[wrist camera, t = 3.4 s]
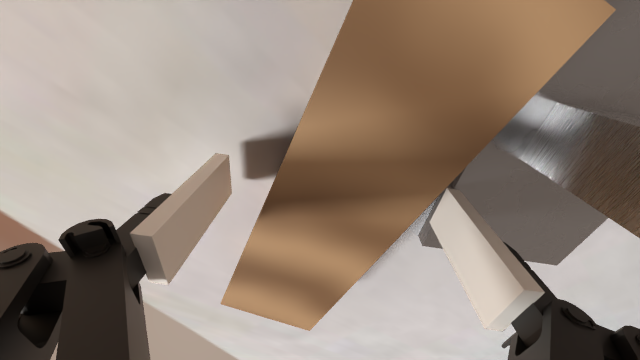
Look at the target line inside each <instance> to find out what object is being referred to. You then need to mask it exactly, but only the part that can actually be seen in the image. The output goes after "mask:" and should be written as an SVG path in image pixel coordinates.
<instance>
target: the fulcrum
mask: <svg viewBox="0 0 640 360" xmlns="http://www.w3.org/2000/svg"><path fill="white" fill-rule="evenodd" d="M605 1H606V2H607V3H608V4H610V5H611V6H612V7H613V8H615V9H616V10H615V11H614V12H613V13H612V15H611V16H610V17H609V18H608V19H607V20H606V21H605V22H604V23H603V24H602V25H601V26H600V27H599V28H598V29H597V30H596V31H595V32H594V33H593V34H592V35H591V37H590V38H589V39H588V40H587V41H586V42H585V43H584V44H583V45H582V46H581V47H580V48H579V49H578V50H577V51H576V52H575V53H574V54H573V55H572V56H571V57H570V59H569V60H568V61H567V62H566V63H565V64H564V65H563V66H562V67H561V68H560V69H559V70H558V71H557V72H556V73H555V74H554V75H553V76H552V77H551V78H550V79H549V80H548V82H547V83H546V84H545V85H544V86H543V87H542V88H541V89H540V90H539V91H538V92H537V93H536V94H535V95H534V96H533V97H532V98H531V99H530V100H529V101H528V102H527V104H526V105H525V106H524V107H523V108H522V109H521V110H520V111H519V112H518V113H517V114H516V115H515V116H514V117H513V118H512V119H511V120H510V121H509V122H508V123H507V124H506V126H505V127H504V128H503V129H502V130H501V131H500V132H499V133H498V134H497V135H496V136H495V137H494V138H493V139H492V140H491V141H490V142H489V143H488V144H487V145H486V146H485V148H484V149H483V150H482V151H481V152H480V153H479V154H478V155H477V156H476V157H475V158H474V159H473V160H472V161H471V162H470V163H469V164H468V165H467V166H466V167H465V168H464V170H463V171H462V172H461V173H460V174H459V175H458V176H457V177H456V178H455V179H454V180H453V181H452V182H451V183H450V184H449V185H448V186H447V187H446V188H445V189H444V190H443V191H442V193H441V194H440V195H439V197H438V199H437V200H436V202H435V204H434V206H433V208H432V210H431V212H430V214H429V216H428V218H427V220H426V222H425V224H424V226H423V227H422V229H421V231H420V233H419V235H418V236H419V238H420V241H421V243H422V246H428V247H435V248H441V249H443V248H442V246H441V244H440V242H439V240H438V238H437V236H436V234H435V232H434V230H433V228H432V226H431V224H430V223H429V222H430V220H431V218H432V216H433V214H434V212H435V210H436V208H437V206H438V205H439V203H440V201H441V199H442V197H443V195H444V193H445V191H446V189H447V188H450V189H456V190H460V191H461V193H462V194H463V195H464V196H465V197H466V199H467V200H468V201H469V202H470V203H471V205H472V206H473V207H474V208H475V209H476V211H477V212H478V213H479V214H480V215H481V217H482V218H483V219H484V220H485V221H486V223H487V224H488V225H489V226H490V227H491V229H492V230H493V231H494V232H495V233H496V234H497V236H498V237H499V238H500V239H501V240H502V242H505V243H507V244H508V245H509V246H510V247H512V248H513V249H514V250H515V251H517V253H518V254H519V255H520V256H521V257H522V258H523V260H524V261H530V262H537V263H544V264H551V265H558V264H559V263H560V262H561V261H562V260H563V259H564V258H565V257H567V256H568V255H569V254H570V253H571V252H572V251H573V250H574V249H575V248H576V247H577V246H578V245H579V244H581V243H582V242H583V241H584V240H585V239H586V238H587V237H588V236H589V235H590V234H591V233H592V232H593V231H595V230H596V229H597V228H598V227H599V226H600V225H601V224H602V223H603V222H604V221H605V220H606V219H607V218H610V219H612V220H613V221H615V222H616V223H618V224H619V225H621V226H622V227H624V228H625V229H627V230H628V231H630V232H631V233H633V234H634V235H636V236H637V237H639V238H640V0H605Z"/></svg>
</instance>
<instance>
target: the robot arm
mask: <svg viewBox="0 0 640 360" xmlns="http://www.w3.org/2000/svg"><path fill="white" fill-rule="evenodd" d="M231 194H232V189H231V176H230V163H229V155H224V154H218V153H216V154H215V155H214V156H212V157H211V158H210V159H209V160H208V161H207V162H206V163H205V164H204V165H203V166H202V167H201V168H200V169H198V170H197V171H196V172H195V173H194V174H193V175H192V176H191V177H190V178H189V179H188V180H187V181H186V182H184V183H183V184H182V185H181V186H180V187H179V188H178V189H177V190H176V191H175V192H174V193H173V194H167V193H164V194H162V195H160V196H158V197H156V198H154V199H152V200H151V201H150V202H149V203H148V204H146V205H145V207H143V208H142V209H141V210H139V211H138V213H137V214H135V215H134V216H132V217H131V218H130V219H129V220H128V221H127V222H125V223H124V224H123V225H122V226H121V227H120V228H118V229H117V230H116V229H115V227H114V225H113V223H112V222H111V221H109V220H107V219H94V220H88V221H85V222H82V223H79V224H76V225H75V226H73V227H71V228H69V229H67V230H66V231H65V232H64V233H63V234H62V235H61V236H60V238H59V241H60V243H61V245H62V246H63V248H64V249H65V251H62V252H52V253H48V252H47V250H46V249H45V247H44V246H43V245H41V244H38V243H27V244H22V245H18V246H14V247H11V248H9V249H6V250H4V251H2V252H0V360H50V359H51V356H52V354H53V352H54V350H55V347H56V345H57V343H58V348H57V356H56V360H150V354H149V346H148V338H147V331H146V324H145V315H144V307H143V300H142V292H141V286H140V284H139V281H140V280H141V279H142V278H143V276H144V275H145V274H146V275H147V278H148V280H149V282H150V283H157V284H164V285H169V283H170V282H171V281H172V279H173V278H174V276H175V275H176V273H177V272H178V270H179V269H180V268H181V266H182V265H183V263H184V262H185V260H186V259H187V257H188V256H189V254H190V253H191V252H192V250H193V249H194V247H195V246H196V244H197V243H198V241H199V240H200V238H201V237H202V236H203V234H204V233H205V231H206V230H207V228H208V227H209V225H210V224H211V223H212V221H213V220H214V218H215V217H216V215H217V214H218V212H219V211H220V209H221V208H222V207H223V205H224V204H225V202H226V201H227V199H228V198H229V196H230V195H231ZM429 223H430V224H431V226H432V228H433V230H434V232H435V234H436V236H437V238H438V240H439V242H440V244H441V246H442V248H443V249H444V251H445V253H446V255H447V257H448V259H449V261H450V263H451V265H452V267H453V269H454V271H455V273H456V274H457V276H458V278H459V280H460V282H461V284H462V286H463V288H464V290H465V292H466V294H467V296H468V298H469V299H470V301H471V303H472V305H473V307H474V309H475V311H476V313H477V315H478V317H479V319H480V321H481V323H482V325H483V326H484V328H485V329H488V330H495V331H504V330H505V329H506V328H507V327H508V326H509V325H510V324H512V325H513V327H514V329H515V330H516V333H514V334H513V335H512V336H511V337H510V338H509V339H508V340H506V341H505V342H504V343H503V345H502V347H503V348H506V347H507V346H508V345H510V349H509V355H508V360H640V329H638V328H636V327H633V326H624V327H622V328H620V329H619V330H617V331H616V332H615V331H612V330H609V329H607V328H604V327H602V326H599V325H597V324H596V323H595V322H594V321H593V320H592V319H591V317H589V316H588V315H587V314H586V313H585V312H584V311H582V310H581V309H579V308H578V307H576V306H575V305H573V304H571V303H569V302H567V301H564V300H560V299H557V298H556V297H555V295H554V294H553V293H552V292H551V291H550V290H549V289H548V287H547V286H546V285H545V284H544V283H543V282H542V280H541V279H540V278H539V277H538V276H537V275H536V273H535V272H534V271H533V270H531V268H530V266H529V265H528V264H527V263H526V262H524V260H523V258H522V257H521V256H520V255H519V254H518V253H517V251H515V250H514V249H513V248H512V247H510V246H509V245H508V244H507V243H505V242H502V240H501V239H500V238H499V237H498V236H497V234H496V233H495V232H494V231H493V230H492V229H491V227H490V226H489V225H488V224H487V223H486V221H485V220H484V219H483V218H482V217H481V215H480V214H479V213H478V212H477V211H476V209H475V208H474V207H473V206H472V205H471V203H470V202H469V201H468V200H467V199H466V197H465V196H464V195H463V194H462V193H461V191H460V190H456V189H450V188H447V189H446V191H445V193H444V195H443V197H442V199H441V201H440V203H439V205H438V206H437V208H436V210H435V212H434V214H433V216H432V218H431V220H430V222H429Z"/></svg>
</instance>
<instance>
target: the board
mask: <svg viewBox="0 0 640 360" xmlns="http://www.w3.org/2000/svg"><path fill="white" fill-rule="evenodd" d="M615 10H616V9H615V8H613V7H612V6H611V5H610V4H608V3H607V2H606V1H605V0H353V2H352V4H351V7H350V9H349V11H348V13H347V16H346V18H345V20H344V23H343V25H342V27H341V29H340V32H339V34H338V36H337V38H336V41H335V43H334V45H333V48H332V50H331V52H330V54H329V57H328V59H327V61H326V64H325V66H324V68H323V70H322V73H321V75H320V77H319V80H318V82H317V84H316V86H315V89H314V91H313V93H312V96H311V98H310V100H309V102H308V105H307V107H306V109H305V112H304V114H303V116H302V118H301V121H300V123H299V125H298V127H297V130H296V132H295V134H294V137H293V139H292V141H291V143H290V146H289V148H288V150H287V153H286V155H285V157H284V159H283V162H282V164H281V166H280V169H279V171H278V173H277V175H276V178H275V180H274V182H273V185H272V187H271V189H270V191H269V194H268V196H267V198H266V201H265V203H264V205H263V207H262V210H261V212H260V214H259V217H258V219H257V221H256V223H255V226H254V228H253V230H252V232H251V235H250V237H249V239H248V242H247V244H246V246H245V248H244V251H243V253H242V255H241V258H240V260H239V262H238V264H237V267H236V269H235V271H234V274H233V276H232V278H231V281H230V283H229V285H228V288H227V290H226V292H225V294H224V297H223V299H222V301H221V304H222V305H226V306H229V307H232V308H236V309H239V310H242V311H246V312H249V313H252V314H255V315H259V316H262V317H265V318H269V319H272V320H275V321H279V322H282V323H285V324H289V325H292V326H295V327H299V328H302V329H305V330H309V331H310V330H311V329H312V328H313V327H314V326H315V324H316V323H317V322H318V321H319V320H320V319H321V318H322V317H323V316H324V315H325V314H326V313H327V312H328V311H329V310H330V309H331V308H332V307H333V306H334V305H335V304H336V302H337V301H338V300H339V299H340V298H341V297H342V296H343V295H344V294H345V293H346V292H347V291H348V290H349V289H350V288H351V287H352V286H353V285H354V284H355V283H356V282H357V281H358V279H359V278H360V277H361V276H362V275H363V274H364V273H365V272H366V271H367V270H368V269H369V268H370V267H371V266H372V265H373V264H374V263H375V262H376V261H377V260H378V259H379V257H380V256H381V255H382V254H383V253H384V252H385V251H386V250H387V249H388V248H389V247H390V246H391V245H392V244H393V243H394V242H395V241H396V240H397V239H398V238H399V237H400V235H401V234H402V233H403V232H404V231H405V230H406V229H407V228H408V227H409V226H410V225H411V224H412V223H413V222H414V221H415V220H416V219H417V218H418V217H419V216H420V215H421V213H422V212H423V211H424V210H425V209H426V208H427V207H428V206H429V205H430V204H431V203H432V202H433V201H434V200H435V199H436V198H437V197H438V196H439V195H440V194H441V193H442V191H443V190H444V189H445V188H446V187H447V186H448V185H449V184H450V183H451V182H452V181H453V180H454V179H455V178H456V177H457V176H458V175H459V174H460V173H461V172H462V171H463V170H464V168H465V167H466V166H467V165H468V164H469V163H470V162H471V161H472V160H473V159H474V158H475V157H476V156H477V155H478V154H479V153H480V152H481V151H482V150H483V149H484V148H485V146H486V145H487V144H488V143H489V142H490V141H491V140H492V139H493V138H494V137H495V136H496V135H497V134H498V133H499V132H500V131H501V130H502V129H503V128H504V127H505V126H506V124H507V123H508V122H509V121H510V120H511V119H512V118H513V117H514V116H515V115H516V114H517V113H518V112H519V111H520V110H521V109H522V108H523V107H524V106H525V105H526V104H527V102H528V101H529V100H530V99H531V98H532V97H533V96H534V95H535V94H536V93H537V92H538V91H539V90H540V89H541V88H542V87H543V86H544V85H545V84H546V83H547V82H548V80H549V79H550V78H551V77H552V76H553V75H554V74H555V73H556V72H557V71H558V70H559V69H560V68H561V67H562V66H563V65H564V64H565V63H566V62H567V61H568V60H569V59H570V57H571V56H572V55H573V54H574V53H575V52H576V51H577V50H578V49H579V48H580V47H581V46H582V45H583V44H584V43H585V42H586V41H587V40H588V39H589V38H590V37H591V35H592V34H593V33H594V32H595V31H596V30H597V29H598V28H599V27H600V26H601V25H602V24H603V23H604V22H605V21H606V20H607V19H608V18H609V17H610V16H611V15H612V13H613V12H614V11H615Z"/></svg>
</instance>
